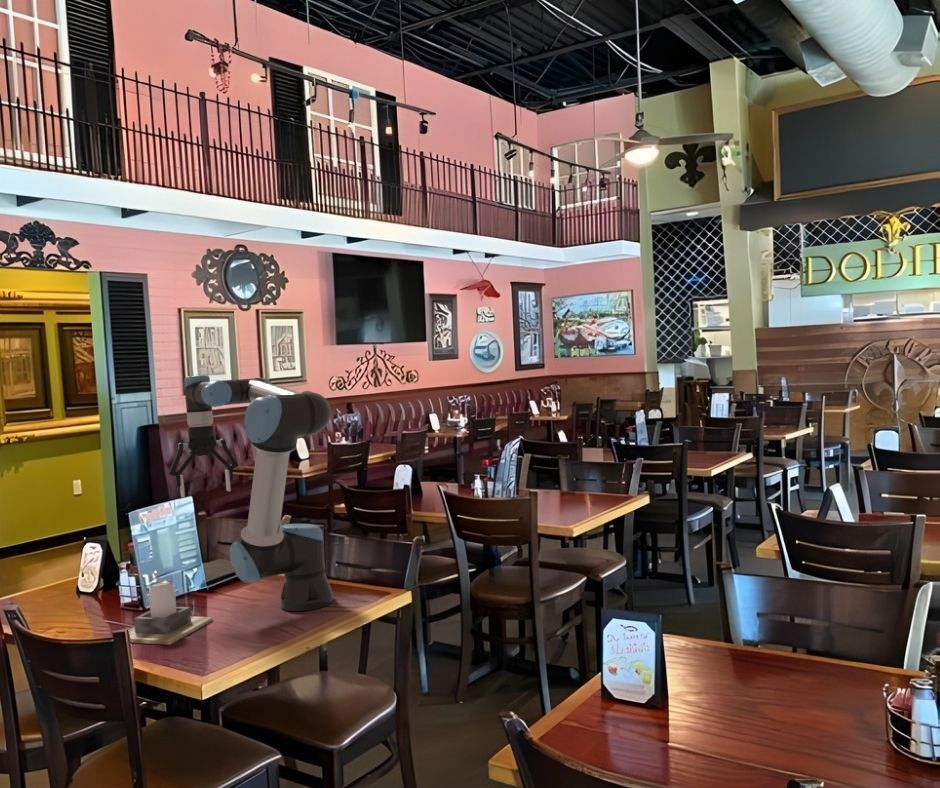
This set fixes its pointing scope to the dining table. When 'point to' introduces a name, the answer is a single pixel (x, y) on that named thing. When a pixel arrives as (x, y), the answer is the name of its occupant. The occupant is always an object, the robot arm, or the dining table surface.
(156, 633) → the socket
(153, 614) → the can
